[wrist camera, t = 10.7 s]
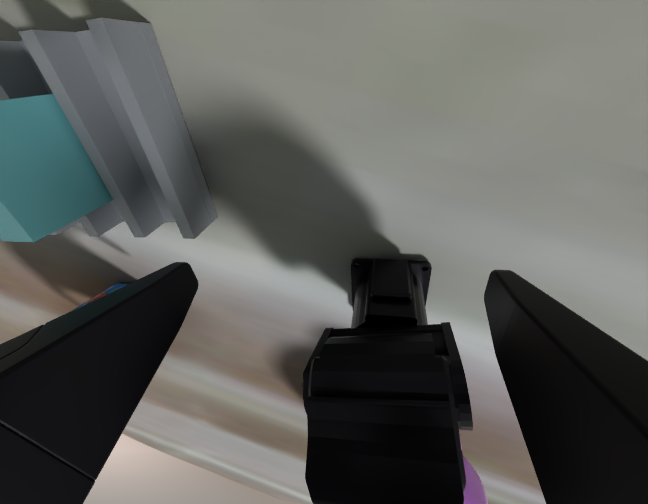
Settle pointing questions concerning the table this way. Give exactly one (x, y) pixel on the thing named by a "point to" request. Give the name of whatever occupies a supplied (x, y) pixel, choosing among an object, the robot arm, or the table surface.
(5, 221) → the tall teal box
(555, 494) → the robot arm
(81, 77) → the dish rack
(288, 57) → the table surface
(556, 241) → the table surface
